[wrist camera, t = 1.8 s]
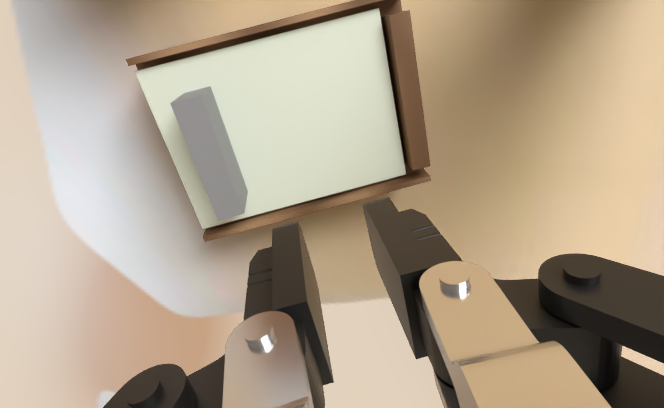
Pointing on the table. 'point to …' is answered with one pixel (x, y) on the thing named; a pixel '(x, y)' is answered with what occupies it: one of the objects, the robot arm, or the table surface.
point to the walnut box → (403, 88)
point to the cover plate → (279, 118)
